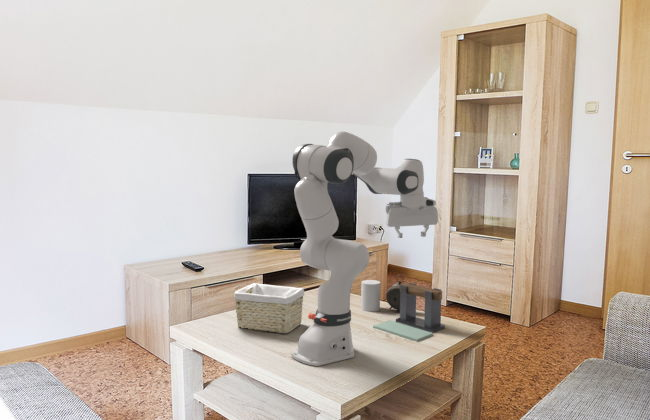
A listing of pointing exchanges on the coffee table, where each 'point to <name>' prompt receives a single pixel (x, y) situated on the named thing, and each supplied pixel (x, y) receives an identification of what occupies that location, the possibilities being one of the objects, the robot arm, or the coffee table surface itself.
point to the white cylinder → (370, 295)
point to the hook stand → (409, 311)
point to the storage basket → (269, 307)
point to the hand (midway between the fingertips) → (411, 237)
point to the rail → (422, 291)
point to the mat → (403, 330)
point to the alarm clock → (394, 296)
